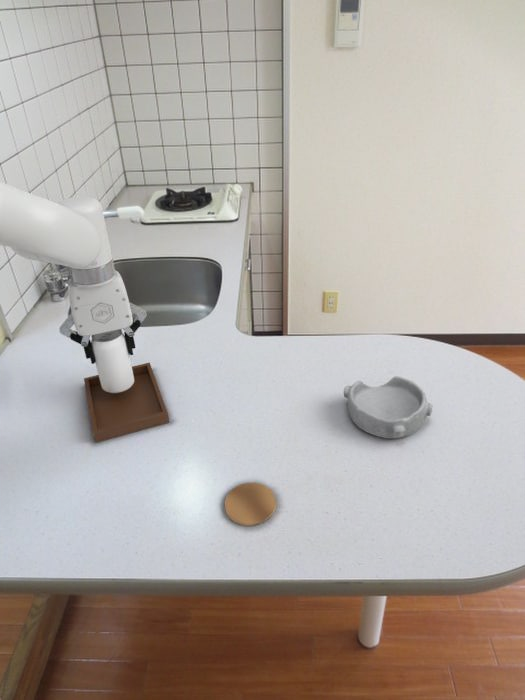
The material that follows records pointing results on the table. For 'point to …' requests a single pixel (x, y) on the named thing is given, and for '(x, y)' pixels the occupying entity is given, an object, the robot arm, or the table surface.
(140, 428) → the tray
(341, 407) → the table surface
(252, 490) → the coaster
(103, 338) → the can
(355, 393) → the dish
